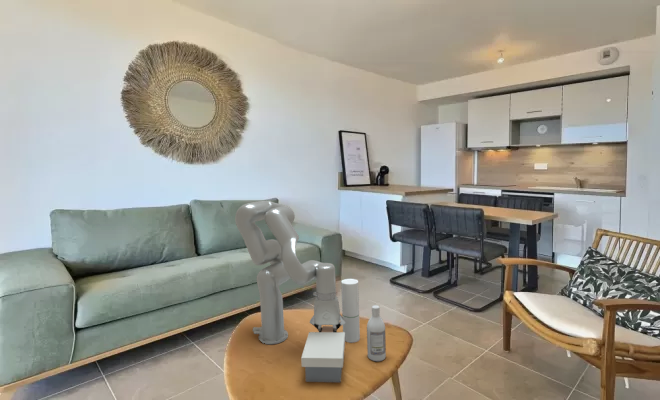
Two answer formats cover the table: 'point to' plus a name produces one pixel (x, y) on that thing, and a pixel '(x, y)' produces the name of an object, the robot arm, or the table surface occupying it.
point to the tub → (323, 374)
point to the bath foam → (376, 336)
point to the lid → (324, 349)
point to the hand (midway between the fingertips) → (328, 338)
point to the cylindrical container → (350, 309)
